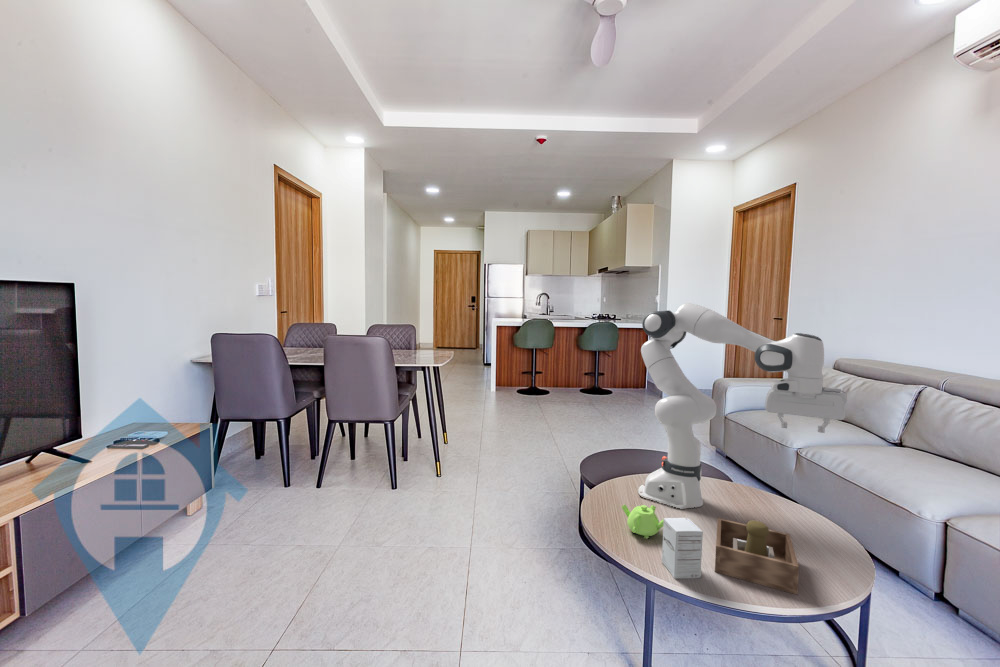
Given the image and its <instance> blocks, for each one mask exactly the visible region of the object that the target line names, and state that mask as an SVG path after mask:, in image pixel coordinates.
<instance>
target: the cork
mask: <svg viewBox="0 0 1000 667" xmlns="http://www.w3.org/2000/svg"><path fill="white" fill-rule="evenodd" d="M746 524H747V525H746V529H747V532H748V537H747V541H746V546H745V550H744V551H745V552H749V553H753V554H757V555H761V556H765V557H768V555H767V544H766V537H767V536H768V534H769V530H770V529H769V527H768V525H766V524H765V523H764V522H762V521H759V520H755V519H754V520H749V521H748V522H747V523H746ZM768 529H769V530H768Z"/></svg>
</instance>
